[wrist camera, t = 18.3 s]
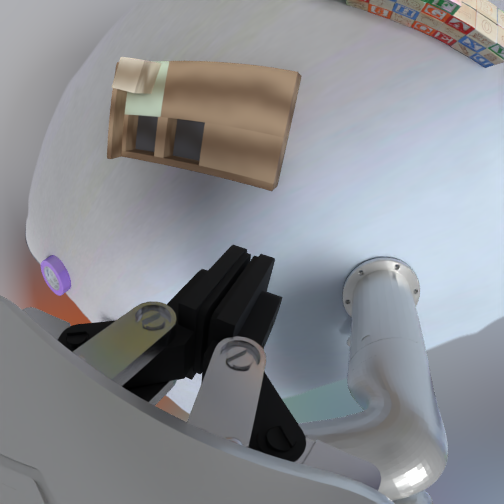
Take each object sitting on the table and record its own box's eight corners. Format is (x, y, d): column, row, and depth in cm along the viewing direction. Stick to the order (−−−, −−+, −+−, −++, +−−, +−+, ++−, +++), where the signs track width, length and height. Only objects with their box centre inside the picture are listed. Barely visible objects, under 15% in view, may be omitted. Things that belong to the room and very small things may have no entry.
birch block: (151, 93, 34) (134, 93, 31) (129, 87, 35) (111, 87, 31) (161, 63, 32) (144, 60, 28) (138, 59, 32) (121, 56, 29)
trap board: (277, 186, 38) (266, 195, 34) (128, 152, 43) (107, 158, 39) (301, 76, 30) (294, 68, 26) (139, 65, 36) (116, 62, 31)
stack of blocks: (489, 36, 17) (528, 16, 7) (485, 69, 20) (529, 55, 10) (351, -25, 21) (349, -71, 10) (344, 5, 24) (341, -39, 13)
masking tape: (67, 262, 65) (57, 268, 61) (74, 295, 70) (66, 301, 67) (46, 250, 67) (37, 255, 64) (53, 281, 73) (45, 286, 69)
